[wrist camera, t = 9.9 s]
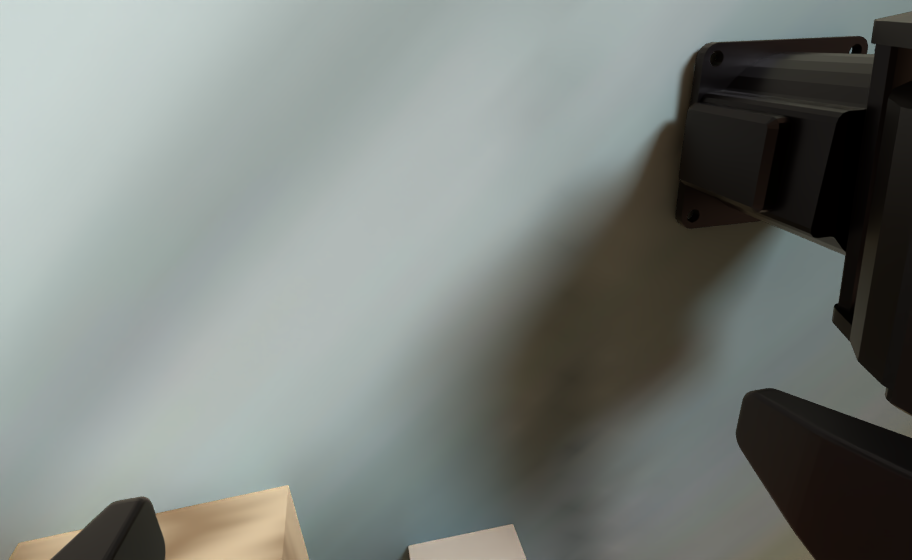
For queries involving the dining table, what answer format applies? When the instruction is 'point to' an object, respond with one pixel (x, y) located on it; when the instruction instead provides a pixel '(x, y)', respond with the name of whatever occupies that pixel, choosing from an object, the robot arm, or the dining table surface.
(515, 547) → the beige cube
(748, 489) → the dining table surface
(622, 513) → the dining table surface
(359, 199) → the dining table surface
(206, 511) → the birch base block
